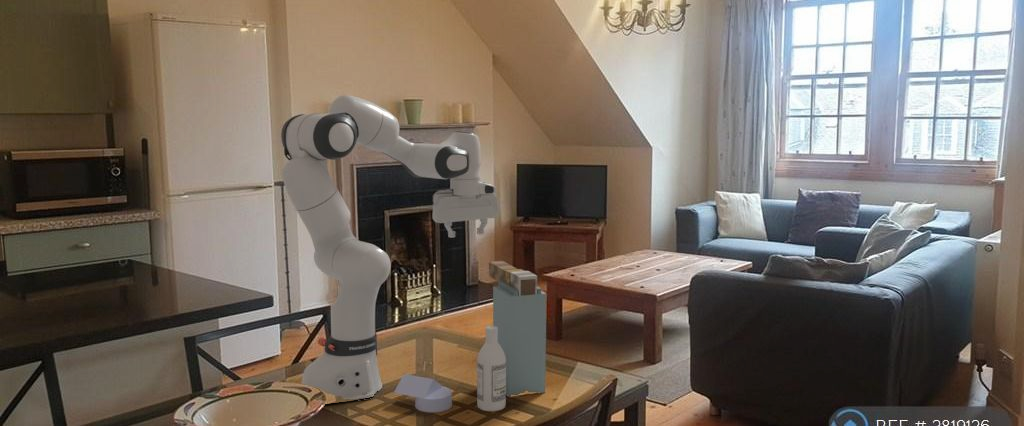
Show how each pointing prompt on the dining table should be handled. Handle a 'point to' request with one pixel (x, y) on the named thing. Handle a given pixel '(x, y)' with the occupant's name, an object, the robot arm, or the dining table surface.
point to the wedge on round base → (425, 393)
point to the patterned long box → (514, 277)
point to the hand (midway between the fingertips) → (466, 235)
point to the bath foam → (491, 373)
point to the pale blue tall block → (521, 337)
